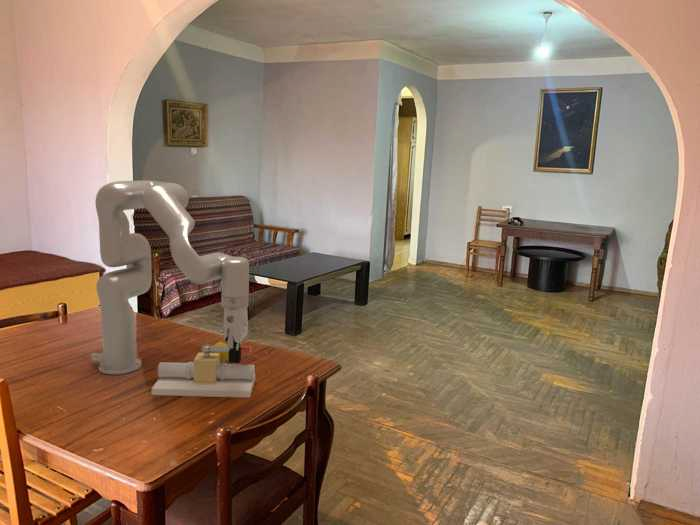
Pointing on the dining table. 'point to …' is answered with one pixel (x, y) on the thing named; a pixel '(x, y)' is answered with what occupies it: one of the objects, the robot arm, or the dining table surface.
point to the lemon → (222, 352)
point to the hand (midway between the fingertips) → (234, 361)
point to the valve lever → (225, 348)
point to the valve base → (203, 388)
